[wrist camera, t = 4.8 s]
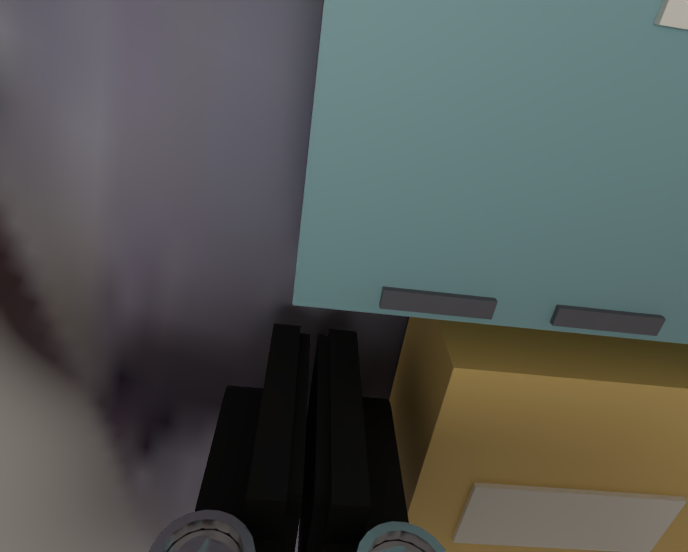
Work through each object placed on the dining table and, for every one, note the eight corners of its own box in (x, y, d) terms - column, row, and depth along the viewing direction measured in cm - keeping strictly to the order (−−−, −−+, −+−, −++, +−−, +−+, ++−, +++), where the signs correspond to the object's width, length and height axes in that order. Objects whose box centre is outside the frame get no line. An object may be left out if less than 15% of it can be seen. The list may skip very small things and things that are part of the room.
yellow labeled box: (694, 300, 11) (818, 404, 8) (603, 460, 13) (675, 581, 10) (420, 270, 10) (455, 371, 7) (378, 444, 13) (393, 567, 10)
